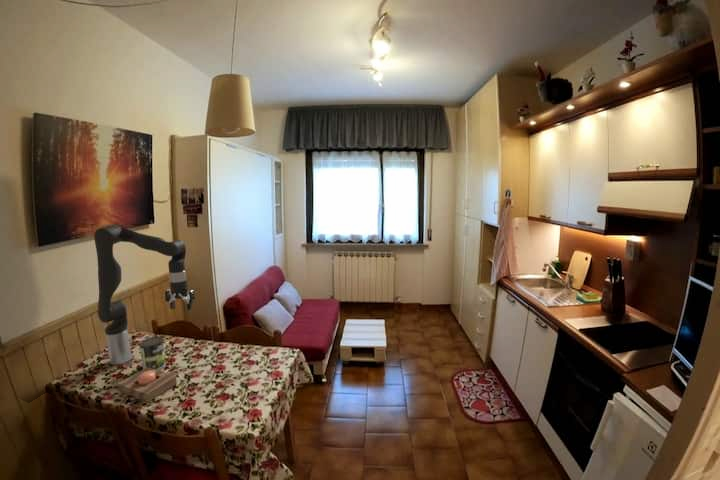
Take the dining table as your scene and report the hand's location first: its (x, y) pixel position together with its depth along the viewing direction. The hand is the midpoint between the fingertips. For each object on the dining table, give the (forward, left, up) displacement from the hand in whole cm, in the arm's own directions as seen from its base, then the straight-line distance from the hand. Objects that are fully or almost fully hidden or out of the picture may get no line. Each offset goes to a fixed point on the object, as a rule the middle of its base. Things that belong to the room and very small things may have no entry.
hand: (181, 309), depth 161 cm
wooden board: (0, -21, -31) cm, 37 cm away
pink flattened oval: (0, -21, -29) cm, 36 cm away
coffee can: (-14, -8, -31) cm, 35 cm away
